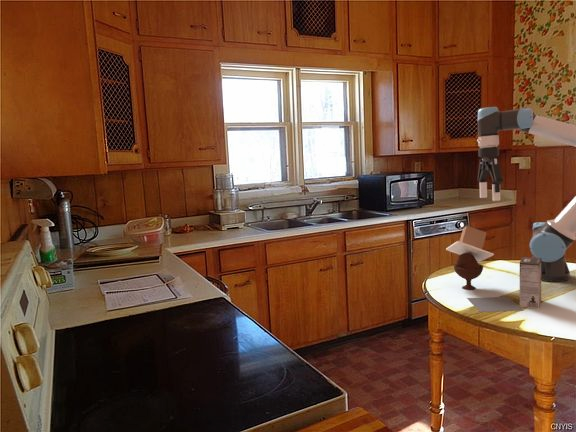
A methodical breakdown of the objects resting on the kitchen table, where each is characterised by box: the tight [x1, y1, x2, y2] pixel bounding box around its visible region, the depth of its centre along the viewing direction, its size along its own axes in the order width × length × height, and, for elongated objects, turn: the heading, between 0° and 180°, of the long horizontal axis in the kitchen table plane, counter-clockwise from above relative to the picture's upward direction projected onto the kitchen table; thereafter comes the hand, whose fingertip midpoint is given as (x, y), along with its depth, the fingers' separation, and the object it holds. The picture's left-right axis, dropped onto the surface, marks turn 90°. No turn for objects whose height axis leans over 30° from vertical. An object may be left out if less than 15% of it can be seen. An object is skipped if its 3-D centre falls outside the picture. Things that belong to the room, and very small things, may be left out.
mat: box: [466, 296, 525, 313], centre depth 155 cm, size 14×14×1 cm
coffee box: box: [519, 256, 542, 310], centre depth 152 cm, size 9×6×16 cm
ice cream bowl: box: [453, 253, 484, 291], centre depth 173 cm, size 11×11×15 cm
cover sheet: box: [445, 225, 495, 263], centre depth 173 cm, size 14×14×10 cm
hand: (489, 199), depth 178 cm, fingers open, 13 cm apart
